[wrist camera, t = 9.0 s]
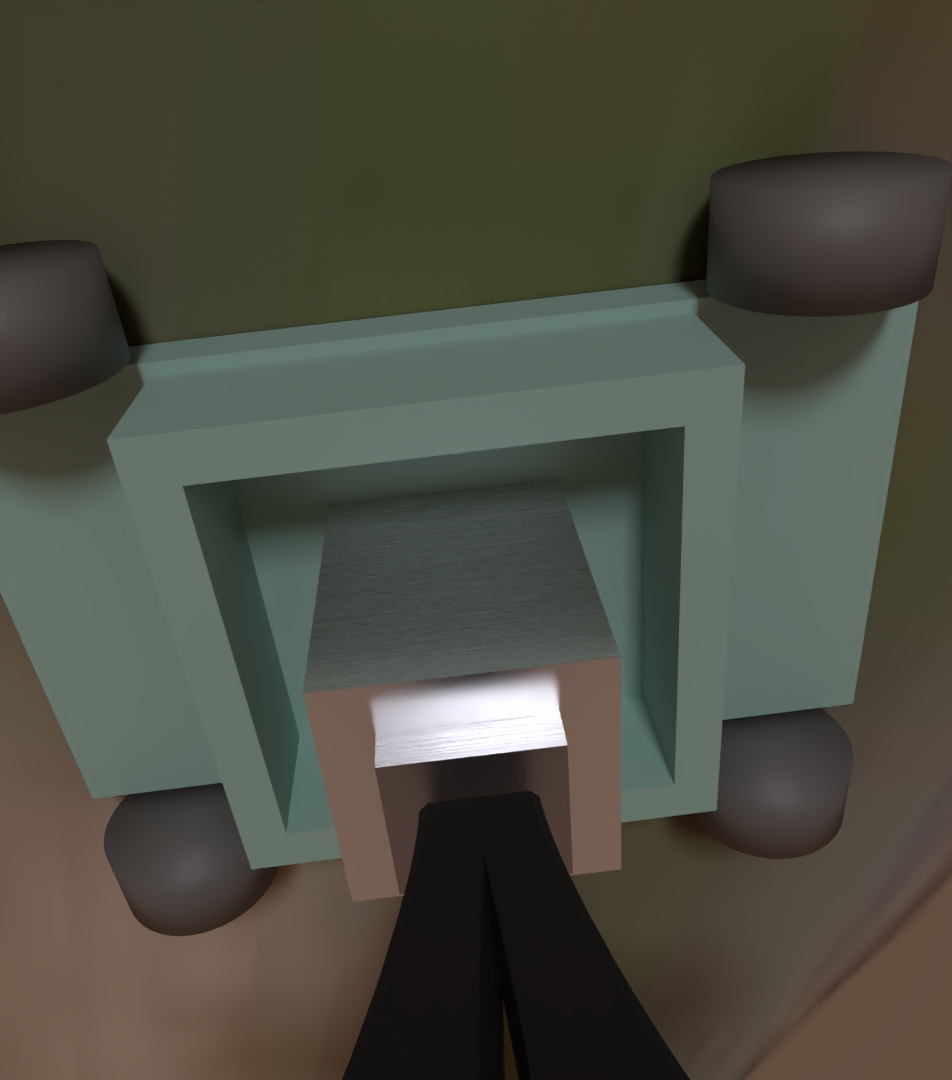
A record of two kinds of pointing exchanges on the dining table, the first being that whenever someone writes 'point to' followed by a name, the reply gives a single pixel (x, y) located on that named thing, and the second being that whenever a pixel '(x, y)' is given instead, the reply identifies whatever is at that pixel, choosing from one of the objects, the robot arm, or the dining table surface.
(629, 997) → the robot arm
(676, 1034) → the dining table surface
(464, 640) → the block
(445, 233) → the dining table surface
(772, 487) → the chassis
